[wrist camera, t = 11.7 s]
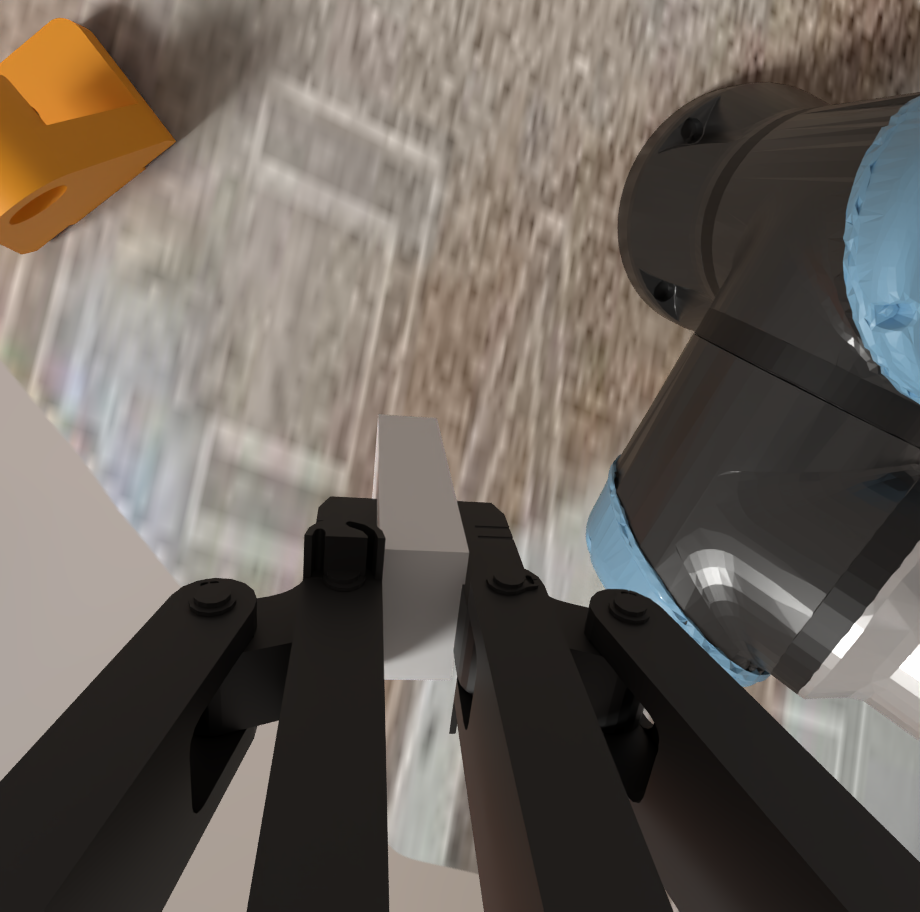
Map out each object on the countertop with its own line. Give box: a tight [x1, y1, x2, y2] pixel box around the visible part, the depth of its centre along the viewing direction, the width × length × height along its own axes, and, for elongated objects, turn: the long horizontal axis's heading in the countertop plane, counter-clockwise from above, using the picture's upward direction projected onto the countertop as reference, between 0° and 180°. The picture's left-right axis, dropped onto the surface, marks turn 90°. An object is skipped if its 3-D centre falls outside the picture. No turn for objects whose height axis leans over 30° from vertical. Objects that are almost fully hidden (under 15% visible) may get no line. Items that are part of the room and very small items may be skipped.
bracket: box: [0, 18, 176, 254], centre depth 33 cm, size 11×7×12 cm, turn 123°
